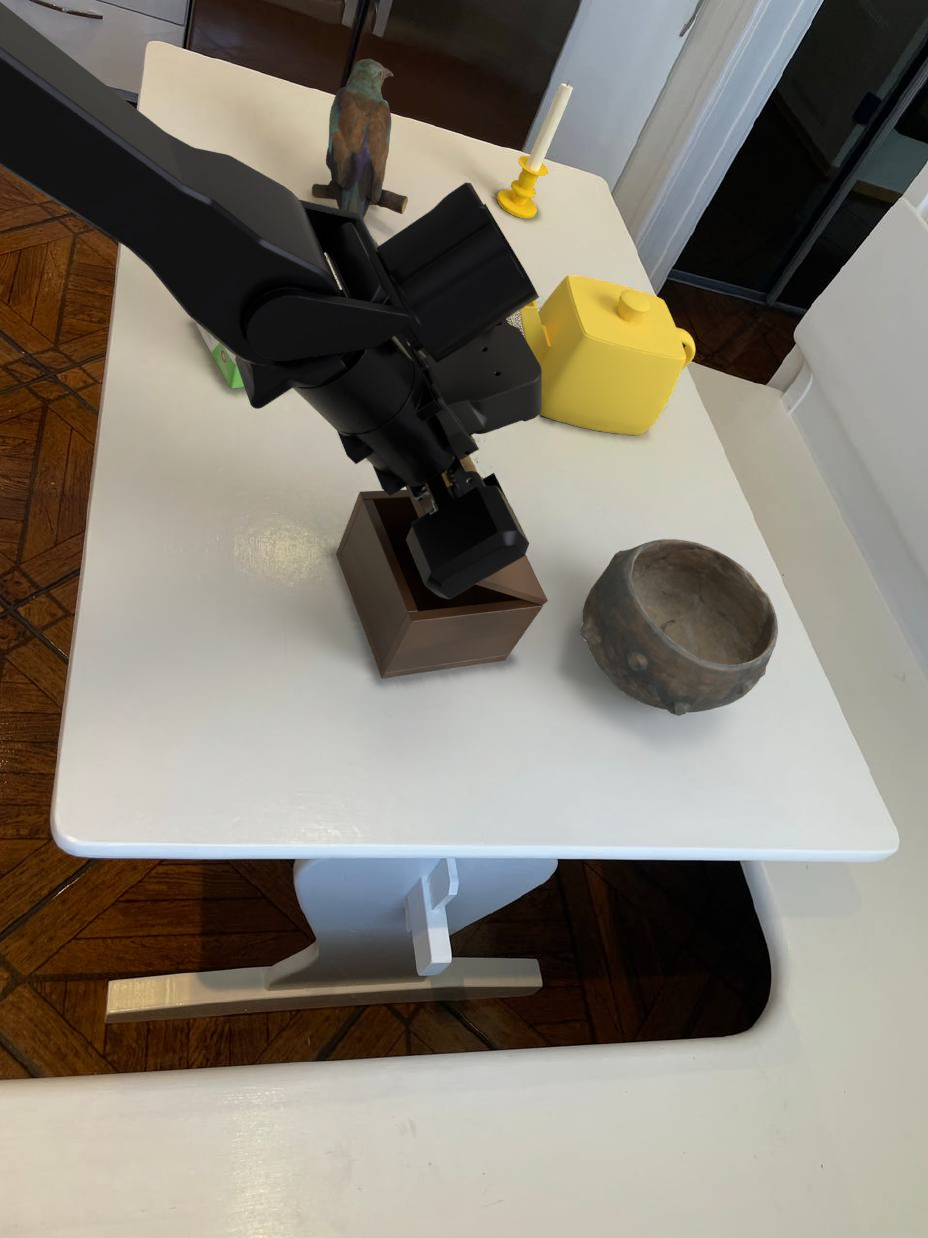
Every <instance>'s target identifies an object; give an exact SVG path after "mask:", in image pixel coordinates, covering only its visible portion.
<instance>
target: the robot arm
mask: <svg viewBox="0 0 928 1238" xmlns="http://www.w3.org/2000/svg"><path fill="white" fill-rule="evenodd" d="M0 168H1V169H4V170H5V171H7V172H8V173H10V174H11V175H13V176H15V177H16V178H18V179H19V180H21V181H23V182H24V183H26V184H27V185H29V186H30V187H32V188H33V189H35V190H37V191H38V192H40V194H43V195H44V196H46V197H48V198H49V199H50V200H52V201H54V202H55V203H56V204H59V205H60V206H61V207H63V208H64V209H66V210H67V211H70V212H71V213H72V214H74V215H76V216H77V217H79V218H81V220H83V221H84V222H87V223H88V224H89V225H91V226H93V227H94V228H96V229H98V230H99V231H101V232H102V233H104V234H105V235H107V236H108V237H110V238H112V239H113V240H115V241H116V242H117V243H120V244H121V245H123V246H124V247H126V248H127V249H128V250H129V251H130V252H132V253H133V254H134V255H135V256H136V257H137V258H138V259H139V260H140V261H142V262H143V263H144V264H145V265H146V266H147V267H148V268H149V269H150V270H151V272H152V273H153V274H154V275H155V276H156V278H157V279H158V280H159V281H160V283H162V285H163V286H164V287H165V288H166V289H167V291H168V292H169V293H170V295H171V296H172V297H173V298H174V299H175V301H177V303H178V304H179V306H180V307H181V308H182V309H183V311H184V312H185V313H186V314H187V315H188V316H189V317H190V318H191V319H192V320H193V321H195V323H196V322H197V323H198V324H199V325H200V326H201V327H203V328H204V329H205V330H206V331H207V332H208V333H209V334H211V335H212V336H213V337H214V338H215V339H216V340H217V341H219V342H220V343H221V344H222V345H223V346H224V347H225V348H226V349H228V350H229V351H230V352H231V353H232V354H234V355H235V356H236V358H235V361H236V364H237V367H238V370H239V373H240V376H241V379H242V381H243V384H244V387H243V388H244V390H245V393H246V396H247V399H248V401H249V404H250V406H251V407H252V408H253V409H255V410H259V409H262V408H264V407H266V406H267V405H269V404H270V403H272V402H273V401H275V400H276V399H278V398H279V397H281V396H282V395H284V394H285V393H287V392H288V391H290V390H292V389H293V390H294V391H295V392H296V393H297V394H298V395H300V396H301V398H303V399H304V401H306V402H307V403H308V404H309V405H310V406H311V407H312V408H313V409H314V410H315V411H316V412H317V413H318V414H319V415H320V416H321V417H322V418H323V419H324V420H326V422H328V423H329V425H330V426H332V427H333V428H334V429H335V430H336V432H337V435H338V438H339V440H340V443H341V444H342V447H343V449H344V453H345V454H346V457H348V459H349V460H351V461H352V463H354V464H355V465H358V464H359V463H360V462H362V461H364V460H367V461H368V462H369V463H370V464H371V466H372V468H373V470H374V473H375V475H376V477H377V480H378V482H379V485H380V486H381V489H382V491H385V492H386V493H387V494H388V495H389V496H391V495H393V494H394V493H396V492H398V491H399V490H403V489H404V488H406V486H407V485H408V486H409V489H410V491H411V493H412V496H413V498H414V499H415V500H416V501H421V500H423V499H424V498H426V497H427V496H428V495H429V494H430V492H431V494H432V496H433V497H431V498H430V499H431V501H432V503H433V507H432V508H431V509H430V510H429V512H428V513H426V514H425V515H423V516H421V517H420V518H418V519H416V520H415V521H413V522H411V525H412V527H411V529H410V532H409V534H408V536H407V539H406V541H407V544H408V546H409V549H410V551H411V553H412V556H413V558H414V561H415V563H416V565H417V568H418V570H419V573H420V575H421V577H422V580H423V582H424V585H425V586H426V587H427V588H429V589H430V590H431V591H432V592H434V593H435V594H436V595H437V596H439V597H443V598H446V599H451V598H453V597H455V596H456V595H458V594H460V593H462V592H463V591H465V590H467V589H468V588H470V587H472V586H474V585H475V584H477V583H479V582H481V581H482V580H484V579H486V578H488V577H489V576H491V575H493V574H494V573H496V572H498V571H500V570H501V569H503V568H505V567H507V566H508V565H510V564H512V563H513V562H515V561H517V560H519V559H520V558H522V557H524V556H525V554H527V551H528V549H529V546H530V541H529V539H528V537H527V535H526V533H525V531H524V529H523V527H522V525H521V523H520V521H519V519H518V517H517V515H516V513H515V510H514V509H513V508H512V505H511V504H510V502H509V500H508V498H507V496H506V494H505V492H504V490H503V488H502V487H501V484H500V482H499V479H498V478H497V476H496V474H495V473H494V472H492V473H490V474H489V475H487V476H486V477H483V476H481V475H480V473H479V472H478V471H477V472H476V471H466V470H465V468H464V466H463V464H462V462H461V460H462V459H464V458H465V457H467V456H469V455H470V456H471V455H472V454H474V453H475V452H477V451H479V449H480V448H479V446H478V444H477V442H476V439H475V438H474V436H473V435H484V434H488V433H490V432H493V431H496V430H499V429H502V428H505V427H507V426H510V425H513V424H517V423H518V422H528V421H531V420H533V419H535V418H537V417H538V416H539V415H541V414H540V412H541V410H542V369H541V366H540V364H539V362H538V361H537V359H536V357H535V355H534V354H533V352H532V350H531V348H530V346H529V345H528V343H527V341H526V339H525V337H524V333H523V331H522V330H521V329H519V327H517V326H515V325H513V324H510V323H509V321H508V318H510V317H512V316H513V315H514V314H516V313H518V312H520V311H519V310H521V309H522V308H524V307H525V306H527V305H528V304H530V303H532V302H533V301H535V300H536V301H537V300H538V299H540V296H539V294H538V292H537V290H536V287H535V285H534V284H533V282H532V280H531V279H530V276H529V274H528V273H527V271H526V270H525V268H524V266H523V264H522V263H521V261H520V259H519V257H518V256H517V254H516V252H515V251H514V249H513V247H512V246H511V244H510V243H509V240H508V239H507V238H506V236H505V234H504V232H503V230H501V227H500V226H499V224H498V222H497V221H496V219H495V217H494V216H493V214H492V212H491V211H490V209H489V207H488V205H487V203H483V201H482V199H481V197H480V196H479V194H478V193H477V190H475V187H474V186H473V184H472V183H471V182H463V184H461V185H460V186H458V187H456V188H455V189H454V190H452V191H451V192H449V193H448V194H447V195H445V196H444V197H442V199H441V200H440V201H439V202H438V203H437V204H436V205H435V206H434V207H433V208H432V209H430V210H429V211H428V212H427V213H424V214H423V215H422V216H420V217H419V218H418V219H416V220H414V221H413V222H412V223H410V224H409V225H407V226H406V227H404V228H403V229H401V230H400V231H399V232H397V233H396V234H394V235H393V236H392V237H390V238H389V239H387V240H386V241H384V242H382V243H380V245H379V244H378V243H377V241H376V240H375V239H374V237H373V236H372V234H371V233H370V230H369V228H368V226H367V224H366V222H365V220H364V218H362V216H361V215H360V214H359V213H355V212H351V211H346V210H342V209H338V207H333V206H328V205H325V204H321V203H317V202H312V201H308V200H303V199H299V198H298V196H297V195H296V194H295V193H294V192H293V191H292V190H291V189H289V188H287V187H286V186H285V185H283V184H281V183H279V182H278V181H276V180H274V179H273V178H271V177H269V176H267V175H265V174H264V173H262V172H260V171H258V170H256V169H254V168H253V167H251V166H250V165H247V164H246V163H244V162H242V161H241V160H239V159H237V158H235V157H234V156H233V155H229V154H227V153H222V152H217V151H211V150H207V149H202V148H199V147H194V146H192V145H190V144H189V143H187V142H184V141H183V140H181V139H179V138H177V137H176V136H173V135H172V134H170V133H168V132H167V131H165V130H164V129H162V128H161V127H160V126H158V125H157V124H156V123H154V121H152V120H151V119H150V118H148V117H147V116H146V115H145V114H143V113H142V112H141V111H139V110H138V109H137V108H136V107H134V105H132V104H131V103H129V102H128V101H127V100H125V99H124V98H123V97H122V96H121V95H120V94H118V93H117V92H115V91H114V90H113V89H112V88H111V87H109V86H108V85H107V84H105V82H103V81H102V80H100V79H99V78H98V77H96V76H95V75H94V74H93V73H91V71H88V69H86V68H85V67H84V66H83V65H81V64H80V63H79V62H77V61H76V60H75V59H73V58H72V57H71V56H70V55H68V53H66V52H65V51H63V50H62V49H61V48H60V47H58V45H56V44H54V43H53V42H52V41H51V40H49V39H48V38H47V37H46V36H44V35H43V34H42V33H41V32H39V31H38V30H36V29H35V27H33V26H32V25H31V24H29V23H28V22H26V21H25V20H24V19H23V18H22V17H20V16H19V15H18V14H17V13H16V12H14V11H13V10H11V9H10V8H9V7H8V6H7V5H5V4H4V3H2V1H0ZM447 469H448V470H447ZM446 470H447V473H445V471H446ZM482 477H483V478H484V479H482ZM450 483H451V484H452V485H451V484H450ZM425 484H427V485H428V487H429V490H430V491H429V490H427V489H428V487H427V486H426V485H425Z"/></svg>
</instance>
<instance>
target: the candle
mask: <svg viewBox="0 0 928 1238" xmlns="http://www.w3.org/2000/svg"><path fill="white" fill-rule="evenodd" d="M569 83H570V80H568V82H567V83H562V82H561V83H560V85H559V87H558V89H557V91H556V93H555V95H554V98H553V100H552V103H551V105H550V107H549V110H548V112H547V113H546V116H545V118H544V121H543V123H542V126H541V128H540V130H539V133H538V135H537V137H536V139H535V142H534V145H533V147H532V149H531V152H530V154H529V156H528V155H522V156H519V157H518V159H517V162H518V164H519V166H520V167H521V172H520V173H519V174H518V178H517V179H514V180H513V181H511V183H510V188H511V189H502V190H500V191H499V192H498V193H497V195H496V201H497V203H498V204H499V206H500V207H501V208H502V209H503V210H504V211H505V212H507V213H508V214H510V215H512V216H514V217H516V218H519V219H524V220H525V219H532V218H535V216H536V214H537V211H538V208H537V205H536V204H535V203H534V201H533V200H532V199H534V198H535V197H536V193H537V192H536V189H535V188H534V187H535V186H536V184H537V182H538V178H539V177H545V176H547V175H548V174H549V170H548V167H547V166H546V165H545V164H544V163H543V162H544V160H545V157H546V155H547V152H548V150H549V148H550V146H551V143H552V140H553V139H554V137H555V134H556V131H557V129H558V126H559V125H560V122H561V119H562V117H563V115H564V112H565V110H566V107H567V105H568V103H569V101H570V98H571V95H572V92H573V90H574V87H573V86H571V85H570V84H569Z"/></svg>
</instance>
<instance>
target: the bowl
mask: <svg viewBox="0 0 928 1238" xmlns="http://www.w3.org/2000/svg"><path fill="white" fill-rule="evenodd" d="M777 617H778V616H777V614H776V610H775V606H774V604H773V603H772V600H771V598H770V596H769V594H768V593H767V592H766V591H765V590H763V588H762V587H761V586H760V584H759V583H758V581H757V580H756V578H755V577H754V576H753V574H752V573H751V572H749V571H748V570H747V569H746V568H745V567H743V565H741V564H740V563H738V562H737V561H735V560H734V559H732V558H731V557H730V556H728V555H725V554H724V553H722V552H721V551H719V550H717V549H714V548H712V547H710V546H707V545H705V544H702V543H699V542H695V541H691V540H684V539H676V538H675V539H674V538H672V539H671V538H670V539H668V538H662V539H655V540H650V541H648V542H644V543H642V544H639V545H637V546H634V547H632V548H629V549H625V550H624V549H623V550H619V551H617V552H615V553H614V554H613V556H612V558H611V559H610V562H609V564H607V566H606V567H605V569H604V570H603V572H602V573H601V575H599V577H598V578H597V580H596V581H595V583H594V584H593V586H592V587H591V588H590V590H589V593H588V594H587V596H586V598H585V601H584V604H583V607H582V615H581V618H582V619H581V620H582V624H581V626H580V628H579V636H580V637H581V638H582V639H583V640H584V641H585V643H586V645H587V649H588V650H589V653H590V654H591V656H592V657H593V659H594V661H595V663H596V664H597V666H598V667H599V668H600V670H601V671H602V672H603V674H604V675H605V676H606V678H607V679H608V680H609V682H610V683H612V685H613V686H614V687H615V688H616V689H617V690H619V691H620V692H622V693H624V694H625V695H627V696H628V697H630V698H631V699H632V698H633V699H634V700H636V701H637V702H639V703H642V704H643V705H645V706H649V707H652V708H656V709H660V710H666V711H667V712H669V713H670V714H671V715H675V716H677V717H680V716H683V715H686V714H687V713H699V712H706V711H711V710H714V709H716V708H717V709H718V708H721V707H725V706H728V705H730V704H734V702H737V701H739V700H741V699H742V698H744V697H745V696H746V695H747V694H748V693H750V691H752V689H754V687H756V685H757V684H758V683H759V681H760V679H762V677H764V676H765V675H766V673H767V666H768V664H769V662H770V659H771V657H772V654H773V652H774V650H775V647H776V644H777V639H778V634H779V623H778V622H779V621H778V618H777Z"/></svg>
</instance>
